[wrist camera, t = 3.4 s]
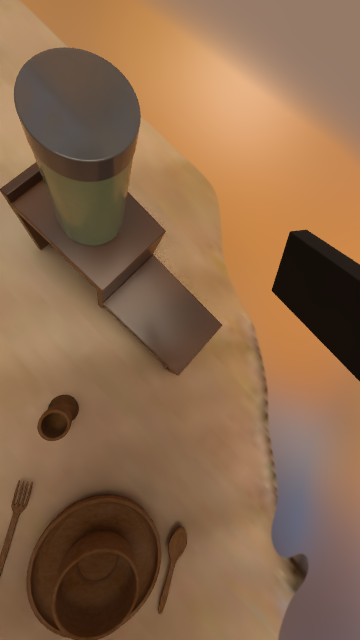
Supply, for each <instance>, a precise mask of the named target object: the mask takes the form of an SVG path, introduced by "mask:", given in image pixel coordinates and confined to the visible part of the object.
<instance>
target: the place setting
mask: <svg viewBox="0 0 360 640" xmlns="http://www.w3.org/2000/svg"><path fill="white" fill-rule="evenodd" d="M78 410H79V407H78V403H77V401H76V400H75V399H74V398H73V397H71V396H68V395H61V396H58V397H56V398H55V399H53V400H52V401H51V403H50V405H49V407H48V410H47V411H46V412H45V413H44V414H43V415H42V416H41V418H40V419H39V422H38V426H37V428H38V432H39V434H40V436H41V437H42V438H43V439H45V440H48V441H56V440H59V439H61V438H63V437H64V436H65V435H66V434H67V432H68V431H69V429H70V426H71V423H72V421H73V420H74V419H75V418H76V416H77V414H78ZM19 482H20V480H19ZM19 482H18V484H17V487H16V491H15V494H14V498H13V501H12V510H13V517H12V520H11V523H10V526H9V529H8V533H7V536H6V539H5V542H4V545H3V548H2V552H1V555H0V575H1V572H2V569H3V565H4V562H5V559H6V556H7V552H8V549H9V546H10V542H11V539H12V535H13V532H14V529H15V525H16V522H17V519H18V516H19V514H20V513H21V512H22V511H23V510H24V509H25V508H26V506H27V503H28V499H29V496H30V492H31V488H32V483H31V486H30V489H29V492H28V496H27V499H26V503H25V505H24V506H23V501H24V498H25V494H26V490H27V486H28V482H27V484H26V487H25V491H24V494H23V498H22V501H21V504H20V505H18V504H19V500H20V496H21V492H22V489H23V484H24V481H23V483H22V486H21V489H20V492H19V496H18V500H17V503H16V504H14V502H15V498H16V494H17V491H18V487H19ZM186 544H187V534H186V531H185V529H184V528H182V527H179V528H178V529H177V530H176V531H175V532H174V533H173V535H172V537H171V539H170V541H169V546H168V550H169V555H170V567H169V571H168V575H167V579H166V582H165V585H164V589H163V592H162V596H161V600H160V604H159V614H161V613H162V611H163V609H164V606H165V603H166V600H167V596H168V592H169V587H170V583H171V579H172V574H173V570H174V567H175V564H176V561H177V560H178V558H179V557H180V556H181V554H182V553H183V551H184V550H185V547H186ZM160 564H161V545H160V539H159V536H158V533H157V530H156V527H155V525H154V523H153V521H152V519H151V518H150V517H149V515H148V514H147V513H146V512H145V511H144V510H143V508H141V507H140V506H139V505H137V504H136V503H134V502H132V501H131V500H129V499H126V498H123V497H119V496H112V495H102V496H95V497H90V498H87V499H84V500H82V501H80V502H78V503H75V504H74V505H72V506H70V507H69V508H67V509H66V510H64V511H63V512H62V513H61V514H59V515H58V516H57V517H56V518H55V519H54V520H53V521H52V522H51V523H50V525H49V526H48V527H47V528H46V530H45V531H44V532H43V534H42V535H41V537H40V539H39V540H38V542H37V544H36V546H35V548H34V551H33V554H32V556H31V559H30V562H29V567H28V571H27V594H28V600H29V603H30V606H31V608H32V610H33V612H34V614H35V616H36V617H37V618H38V620H39V621H40V622H41V623H42V624H43V625H44V626H45V627H46V628H47V629H49V630H50V631H52V632H53V633H56V634H58V635H60V636H63V637H67V638H72V639H74V640H98V639H101V638H103V637H105V636H107V635H109V634H111V633H112V632H114V631H115V630H116V629H118V628H119V627H120V626H121V625H123V624H124V623H125V622H127V621H128V620H129V619H130V618H131V617H132V616H134V615H135V614H136V613H137V612H138V610H139V609H140V608H141V607H142V606H143V604H144V603H145V601H146V600H147V598H148V597H149V595H150V593H151V591H152V590H153V587H154V585H155V583H156V580H157V577H158V573H159V569H160Z"/></svg>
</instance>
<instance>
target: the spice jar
mask: <svg viewBox="0 0 360 640" xmlns="http://www.w3.org/2000/svg"><path fill="white" fill-rule="evenodd" d="M14 102H15V106H16V110H17V113H18V116H19V119H20V121H21V124H22V127H23V130H24V132H25V135H26V138H27V140H28V143H29V145H30V147H31V149H32V151H33V154H34V156H35V159H36V162H37V165H38V168H39V170H40V173H41V176H42V179H43V181H44V184H45V187H46V190H47V193H48V195H49V198H50V201H51V204H52V206H53V209H54V212H55V215H56V218H57V220H58V223H59V225H60V227H61V229H62V230H63V232H64V233H65V234H66V235H67V236H68V237H69V238H71V239H72V240H74V241H76V242H78V243H80V244H84V245H90V246H96V245H101V244H105V243H107V242H109V241H111V240H112V239H113V238H114V237H115V236H116V235H117V234H118V233H119V231H120V229H121V226H122V222H123V216H124V210H125V204H126V198H127V192H128V186H129V180H130V174H131V168H132V162H133V156H134V153H135V150H136V144H137V139H138V133H139V127H140V117H141V115H140V107H139V102H138V99H137V97H136V94H135V92H134V90H133V88H132V86H131V85H130V83H129V82H128V80H127V79H126V78H125V76H124V75H123V74H122V73H121V72H120V71H119V70H118V69H117V68H116V67H115V66H113V65H112V64H111V63H110V62H108V61H107V60H105V59H104V58H102V57H100V56H98V55H96V54H93V53H91V52H88V51H85V50H81V49H76V48H54V49H49V50H46V51H43V52H41V53H39V54H37V55H35V56H33V57H32V58H31V59H29V60H28V61H27V62H26V63H25V64H24V66H23V67H22V69H21V70H20V72H19V74H18V76H17V79H16V82H15V87H14Z"/></svg>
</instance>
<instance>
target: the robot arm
mask: <svg viewBox="0 0 360 640" xmlns="http://www.w3.org/2000/svg"><path fill="white" fill-rule="evenodd" d="M272 292H273V293H274V294H275V295H277V297H278V298H279V299H280V300H281V301H282V302H283V303H284V304H285V305H286V306H287V307H288V308H289V309H290V310H291V311H292V312H293V313H294V314H295V315H296V316H297V317H298V318H299V319H300V320H301V321H302V322H303V323H304V324H305V325H306V327H308V328H309V330H310V331H311V332H312V333H313V334H314V335H315V336H316V337H317V338H318V339H319V340H320V341H321V342H322V343H323V344H324V345H325V346H326V347H327V348H328V349H329V350H330V351H331V352H332V353H333V354H334V355H335V356H336V357H337V358H338V359H339V360H340V362H342V364H343V365H344V366H345V367H346V368H347V369H348V370H349V371H350V372H351V373H352V374H353V375H354V376H355V377H356V378H357V379H358V380H359V381H360V265H359V264H358V263H356V262H355V261H353V260H352V259H350V258H349V257H347V256H346V255H344V254H342V253H341V252H340V251H338V250H336V249H335V248H334V247H332V246H330V245H329V244H327V243H326V242H324V241H323V240H321V239H320V238H318V237H317V236H315V235H313V234H312V233H311V232H309V231H308V230H300V231H291V232H290V233H289V237H288V240H287V243H286V246H285V249H284V253H283V256H282V259H281V262H280V265H279V269H278V272H277V275H276V278H275V281H274V285H273V288H272Z"/></svg>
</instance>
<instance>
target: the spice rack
mask: <svg viewBox="0 0 360 640" xmlns="http://www.w3.org/2000/svg"><path fill="white" fill-rule="evenodd" d="M0 191H1V193H2V194H3V196H4V197H5V199H6V200H7V202H8V203H9V205H10V206H11V208H12V209H13V211H14V212H15V214H16V215H17V217H18V218H19V220H20V221H21V223H22V224H23V226H24V227H25V229H26V230H27V232H28V233H29V235H30V236H31V238H32V239H33V241H34V242H35V244H36V245H37V247H38V248H39V249H43V248H44V247H45V246H46V245H47V244H49V243H50V244H51V245H52V246H53V247H54V248H55V249H56V250H57V251H58V252H59V253H60V254H61V255H62V256H63V257H64V258H65V259H66V260H67V261H68V262H69V263H71V264H72V265H73V266H74V267H75V268H76V269H77V270H78V271H79V272H80V273H81V274H82V275H83V276H84V277H85V278H86V279H87V280H88V281H89V282H90V283H91V284H92V285H93V286H95V287H96V288H97V294H98V304H99V306H100V307H101V308H103V307H105V308H106V309H107V310H108V311H109V312H110V313H112V314H113V315H114V316H115V317H116V318H117V319H118V320H119V321H120V322H121V323H122V324H123V325H124V326H125V327H126V328H127V329H128V330H129V331H130V332H131V333H133V334H134V335H135V336H136V337H137V338H138V339H139V340H140V341H141V342H142V343H143V344H144V345H145V346H146V347H147V348H148V349H149V350H150V351H151V352H152V353H153V354H155V355H156V356H157V357H158V358H159V359H160V360H161V361H162V362H163V363H164V364H165V365H166V366H167V367H166V369H167V370H168V371H169V372H171V373H174V374H176V375H179V374H180V373H181V372H182V371H183V370H184V368H185V367H186V366H187V365H188V364H189V363H190V362H191V360H192V359H193V358H194V357H195V356H196V355H197V354H198V352H199V351H200V350H201V349H202V348H203V347H204V346H205V344H206V343H207V342H208V341H209V340H210V339H211V338H212V336H213V335H214V334H215V333H216V332H217V331H218V330H219V328H220V327H221V326H222V324H221V323H220V322H219V321H218V320H217V319H216V318H215V317H214V316H213V315H212V314H211V313H210V312H209V311H208V310H207V309H206V308H205V307H204V306H203V305H202V304H201V303H200V302H199V301H198V300H197V299H196V298H195V297H194V296H193V295H192V294H191V293H190V292H189V291H188V290H187V289H186V288H185V287H184V286H183V285H182V284H181V283H180V282H179V281H178V280H177V279H176V278H175V277H174V276H173V275H172V274H171V273H170V272H169V271H168V269H167V268H166V267H165V266H164V265H163V264H162V263H161V262H160V261H159V260H158V259H157V258H156V257H155V256H154V255H153V253H154V251H155V250H156V248H157V246H158V244H159V242H160V241H161V239H162V237H163V235H164V233H165V232H166V231H165V230H164V229H163V228H162V227H161V226H160V225H159V224H158V223H157V222H156V220H155V219H154V218H153V217H152V216H151V215H150V214H149V213H148V212H147V211H146V210H145V209H144V208H143V207H142V206H141V205H140V204H139V203H138V202H137V201H136V200H135V199H134V198H133V197H132V196H131V195H130V194H129V192H127V198H126V204H125V210H124V216H123V222H122V226H121V229H120V231H119V233H118V234H117V235H116V236H115V237H114V238H113V239H112V240H111V241H109V242H107V243H105V244H101V245H96V246H90V245H84V244H80V243H78V242H76V241H74V240H72V239H71V238H69V237H68V236H67V235H66V234H65V233H64V232H63V230H62V229H61V227H60V225H59V223H58V220H57V218H56V215H55V212H54V209H53V206H52V204H51V201H50V198H49V195H48V193H47V190H46V187H45V184H44V181H43V179H42V176H41V173H40V170H39V168H38V165H37V162H36V163H34V164H33V165H32V166H30V167H29V168H28V169H26V170H25V171H24V172H22V173H21V174H20V175H18V176H17V177H16V178H14V179H13V180H12V181H10V182H9V183H8V184H6V185H5V186H3V187H2V188H1V189H0Z"/></svg>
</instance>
